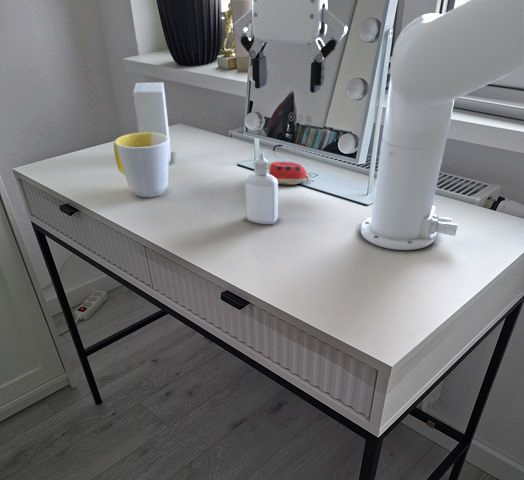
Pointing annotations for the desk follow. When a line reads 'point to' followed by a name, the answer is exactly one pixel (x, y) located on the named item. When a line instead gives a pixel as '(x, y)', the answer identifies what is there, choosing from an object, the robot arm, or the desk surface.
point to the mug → (143, 162)
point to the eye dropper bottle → (261, 193)
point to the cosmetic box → (151, 109)
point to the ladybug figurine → (288, 173)
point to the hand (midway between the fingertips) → (287, 88)
